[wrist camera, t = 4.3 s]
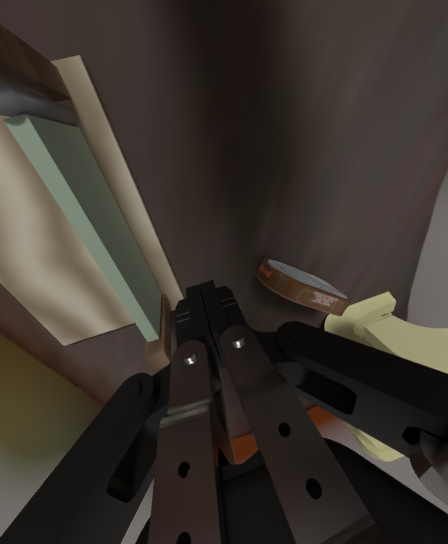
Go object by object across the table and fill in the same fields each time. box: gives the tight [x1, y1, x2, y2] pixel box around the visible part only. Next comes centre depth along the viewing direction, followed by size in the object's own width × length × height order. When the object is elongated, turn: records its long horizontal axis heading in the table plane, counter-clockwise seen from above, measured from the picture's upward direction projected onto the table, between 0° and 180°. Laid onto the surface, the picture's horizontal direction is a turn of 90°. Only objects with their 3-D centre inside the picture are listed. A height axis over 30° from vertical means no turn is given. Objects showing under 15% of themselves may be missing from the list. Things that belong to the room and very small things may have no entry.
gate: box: [0, 79, 161, 342], centre depth 19 cm, size 2×21×8 cm, turn 13°
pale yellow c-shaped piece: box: [324, 292, 448, 461], centre depth 37 cm, size 30×16×18 cm, turn 14°
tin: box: [255, 258, 351, 316], centre depth 29 cm, size 15×3×8 cm, turn 63°
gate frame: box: [0, 24, 184, 370], centre depth 19 cm, size 18×27×11 cm, turn 13°
